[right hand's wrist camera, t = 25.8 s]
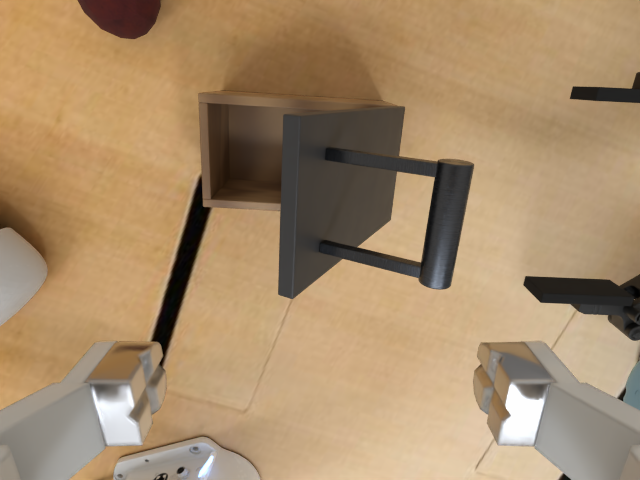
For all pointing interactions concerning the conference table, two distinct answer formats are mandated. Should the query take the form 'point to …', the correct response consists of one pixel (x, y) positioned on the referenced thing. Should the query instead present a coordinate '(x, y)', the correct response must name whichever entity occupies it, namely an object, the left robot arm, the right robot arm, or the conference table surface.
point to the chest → (251, 144)
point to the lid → (359, 196)
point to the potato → (123, 15)
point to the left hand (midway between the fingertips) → (555, 199)
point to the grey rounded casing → (18, 273)
